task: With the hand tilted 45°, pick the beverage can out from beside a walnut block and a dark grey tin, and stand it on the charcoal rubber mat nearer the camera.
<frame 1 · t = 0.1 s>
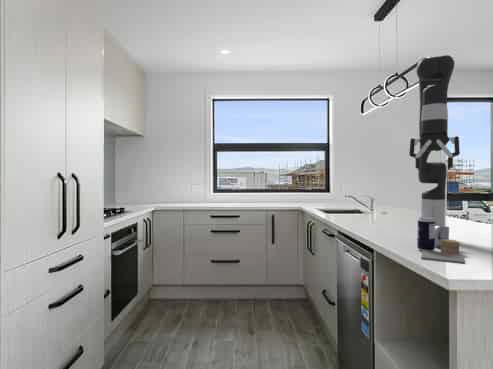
hand: (433, 169, 115), 29 cm above the countertop, tool pointing down, fingers open, 8 cm apart
beverage can: (425, 251, 129), on the countertop
walnut block: (449, 253, 125), on the countertop
mat: (441, 257, 118), on the countertop
grey tin: (441, 247, 135), on the countertop
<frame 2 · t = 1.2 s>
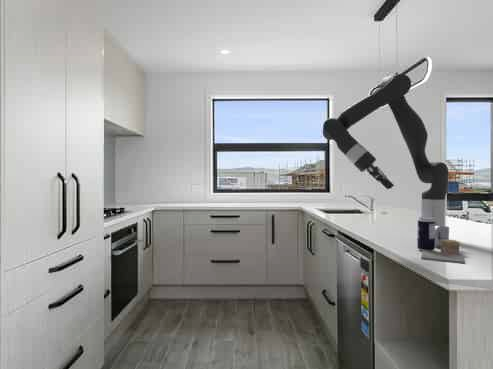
hand: (391, 187, 134), 23 cm above the countertop, tool tilted 45°, fingers open, 8 cm apart
nothing on the countertop moved.
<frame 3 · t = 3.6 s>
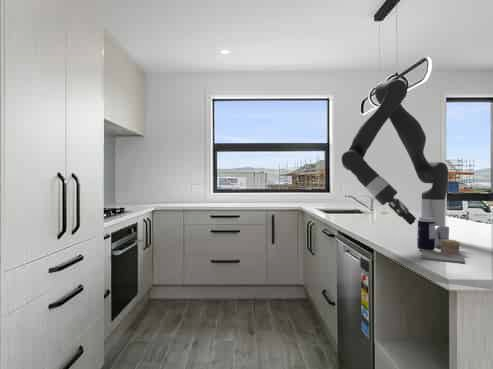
hand: (413, 221, 131), 10 cm above the countertop, tool tilted 45°, fingers open, 8 cm apart
nothing on the countertop moved.
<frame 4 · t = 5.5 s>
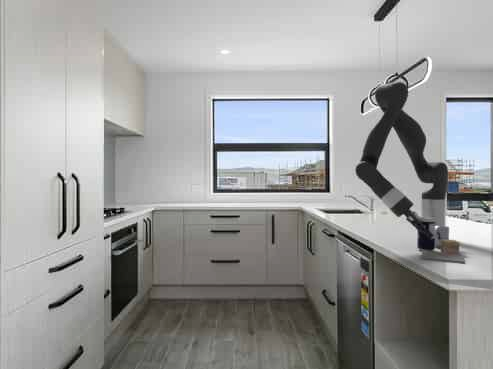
hand: (431, 235, 129), 5 cm above the countertop, tool tilted 45°, fingers closed on beverage can, 5 cm apart
beverage can: (425, 251, 129), on the countertop, touching gripper
everything else where it was.
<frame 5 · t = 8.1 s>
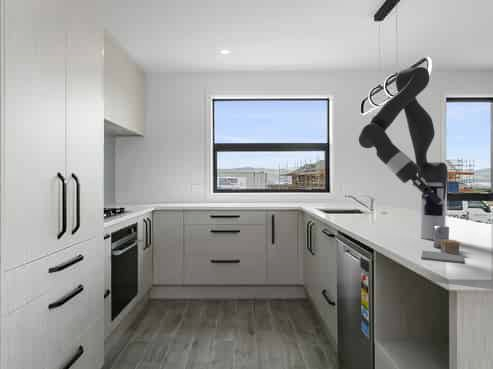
hand: (439, 201, 122), 18 cm above the countertop, tool tilted 45°, fingers closed on beverage can, 5 cm apart
beverage can: (433, 217, 123), point 13 cm above the countertop, touching gripper
everything else where it was.
when the fingers open (7 cm above the countertop, at t = 11.0 s): beverage can drops 1 cm, resting on mat.
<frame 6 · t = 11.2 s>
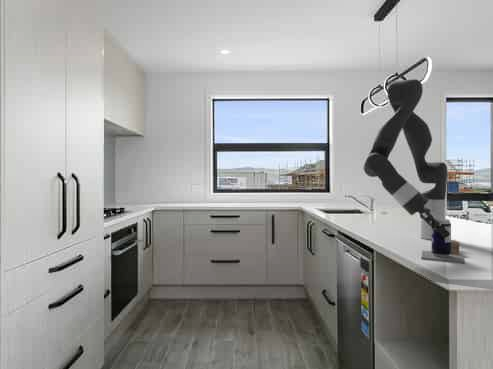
hand: (447, 234, 117), 8 cm above the countertop, tool tilted 45°, fingers open, 7 cm apart
beverage can: (441, 256, 118), resting on mat
everything else where it was.
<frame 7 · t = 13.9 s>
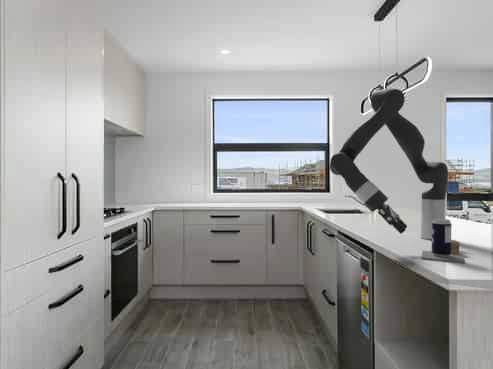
hand: (404, 230, 124), 8 cm above the countertop, tool tilted 45°, fingers open, 8 cm apart
nothing on the countertop moved.
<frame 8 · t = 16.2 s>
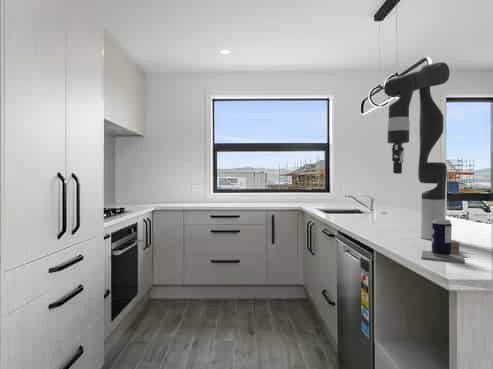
hand: (397, 173, 133), 28 cm above the countertop, tool pointing down, fingers open, 8 cm apart
nothing on the countertop moved.
at the end: beverage can inside the target area on the mat (0.2 cm from its centre), point 0.4 cm above the mat's base; beverage can tilted 0°; the gripper is holding nothing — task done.
